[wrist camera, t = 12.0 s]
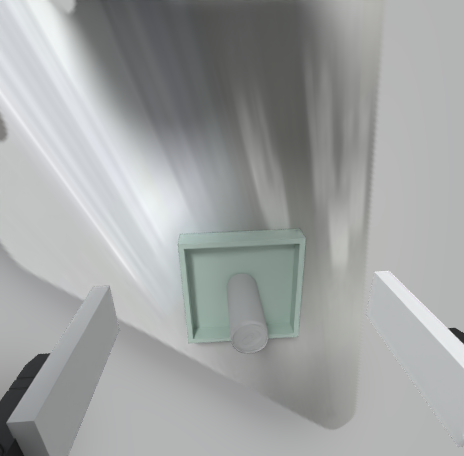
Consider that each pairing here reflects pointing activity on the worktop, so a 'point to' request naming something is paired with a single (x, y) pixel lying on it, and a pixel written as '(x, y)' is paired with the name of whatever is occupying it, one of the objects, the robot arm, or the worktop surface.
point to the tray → (241, 262)
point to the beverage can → (246, 315)
